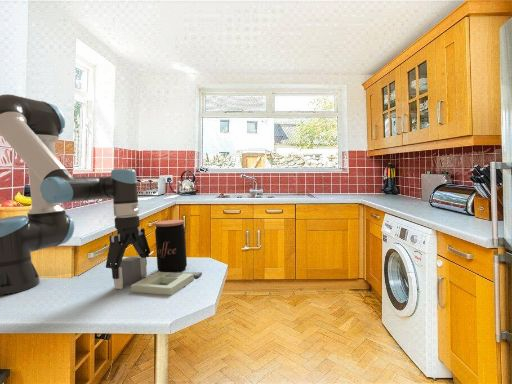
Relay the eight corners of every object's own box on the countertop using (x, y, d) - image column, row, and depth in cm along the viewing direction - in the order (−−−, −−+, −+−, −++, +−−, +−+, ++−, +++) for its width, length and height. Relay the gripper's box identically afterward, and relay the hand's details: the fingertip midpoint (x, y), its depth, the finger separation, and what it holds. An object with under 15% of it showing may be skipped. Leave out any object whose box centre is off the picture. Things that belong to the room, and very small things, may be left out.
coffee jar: (151, 272, 108) (148, 223, 108) (172, 264, 118) (169, 219, 117) (173, 275, 103) (170, 224, 103) (193, 266, 113) (190, 220, 112)
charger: (120, 284, 97) (119, 260, 96) (130, 279, 101) (128, 256, 101) (132, 285, 95) (130, 260, 95) (141, 280, 100) (139, 256, 99)
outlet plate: (131, 291, 90) (131, 284, 90) (157, 277, 102) (157, 271, 102) (171, 294, 86) (171, 287, 85) (193, 279, 98) (193, 273, 98)
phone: (178, 278, 100) (178, 275, 100) (182, 274, 104) (182, 272, 104) (198, 277, 99) (198, 275, 99) (201, 274, 103) (201, 272, 103)
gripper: (108, 221, 85) (114, 296, 86) (158, 211, 107) (162, 271, 108) (88, 221, 87) (93, 294, 88) (141, 211, 109) (145, 270, 110)
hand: (131, 281), depth 98 cm, fingers open, 11 cm apart
